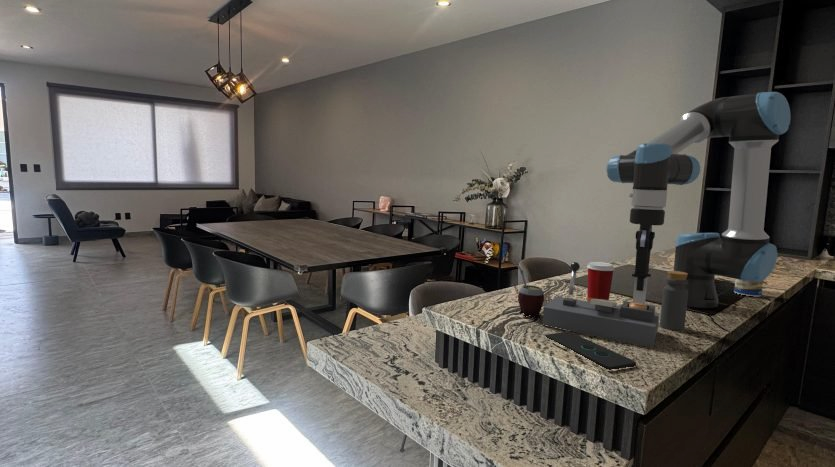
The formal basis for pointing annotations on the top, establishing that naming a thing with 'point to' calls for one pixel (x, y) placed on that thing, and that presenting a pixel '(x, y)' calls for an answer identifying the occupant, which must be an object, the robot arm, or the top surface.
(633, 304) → the push button
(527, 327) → the top surface
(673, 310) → the bottle
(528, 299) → the mate gourd
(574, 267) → the toggle lever
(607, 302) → the plate
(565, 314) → the console
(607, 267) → the paper cup
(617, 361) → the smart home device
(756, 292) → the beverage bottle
